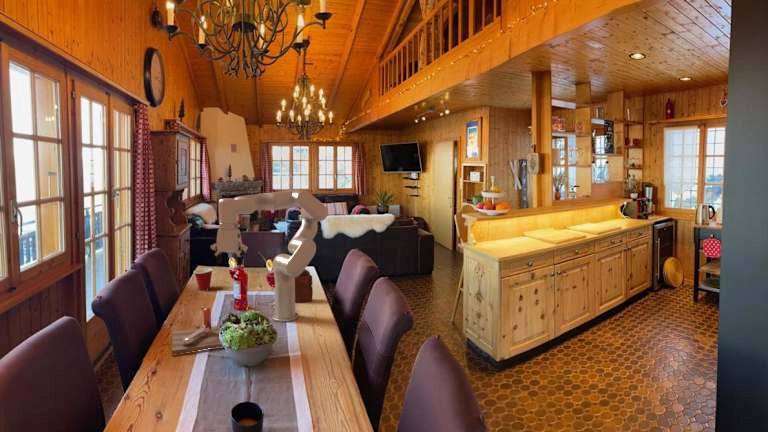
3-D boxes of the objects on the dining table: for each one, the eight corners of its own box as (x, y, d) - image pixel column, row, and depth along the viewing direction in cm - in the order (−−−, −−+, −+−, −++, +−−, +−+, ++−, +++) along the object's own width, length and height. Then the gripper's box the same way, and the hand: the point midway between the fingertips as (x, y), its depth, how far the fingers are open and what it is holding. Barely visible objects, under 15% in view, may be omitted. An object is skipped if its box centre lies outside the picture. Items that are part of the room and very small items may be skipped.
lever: (205, 329, 197) (204, 307, 196) (213, 330, 196) (213, 308, 195) (180, 345, 180) (179, 320, 179) (190, 345, 179) (189, 321, 178)
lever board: (172, 336, 196) (172, 331, 195) (219, 330, 204) (219, 325, 203) (172, 355, 176) (171, 350, 176) (223, 348, 184) (223, 342, 183)
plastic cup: (193, 288, 273) (193, 268, 271) (212, 286, 277) (212, 267, 276) (194, 292, 263) (193, 272, 262) (214, 290, 268) (213, 270, 266)
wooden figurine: (311, 298, 253) (311, 267, 251) (312, 302, 247) (312, 269, 245) (290, 300, 250) (289, 268, 248) (291, 303, 244) (290, 271, 242)
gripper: (250, 226, 200) (251, 263, 202) (215, 224, 203) (216, 262, 205) (242, 228, 192) (243, 267, 194) (205, 227, 196) (206, 265, 197)
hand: (229, 264), depth 200 cm, fingers open, 9 cm apart
